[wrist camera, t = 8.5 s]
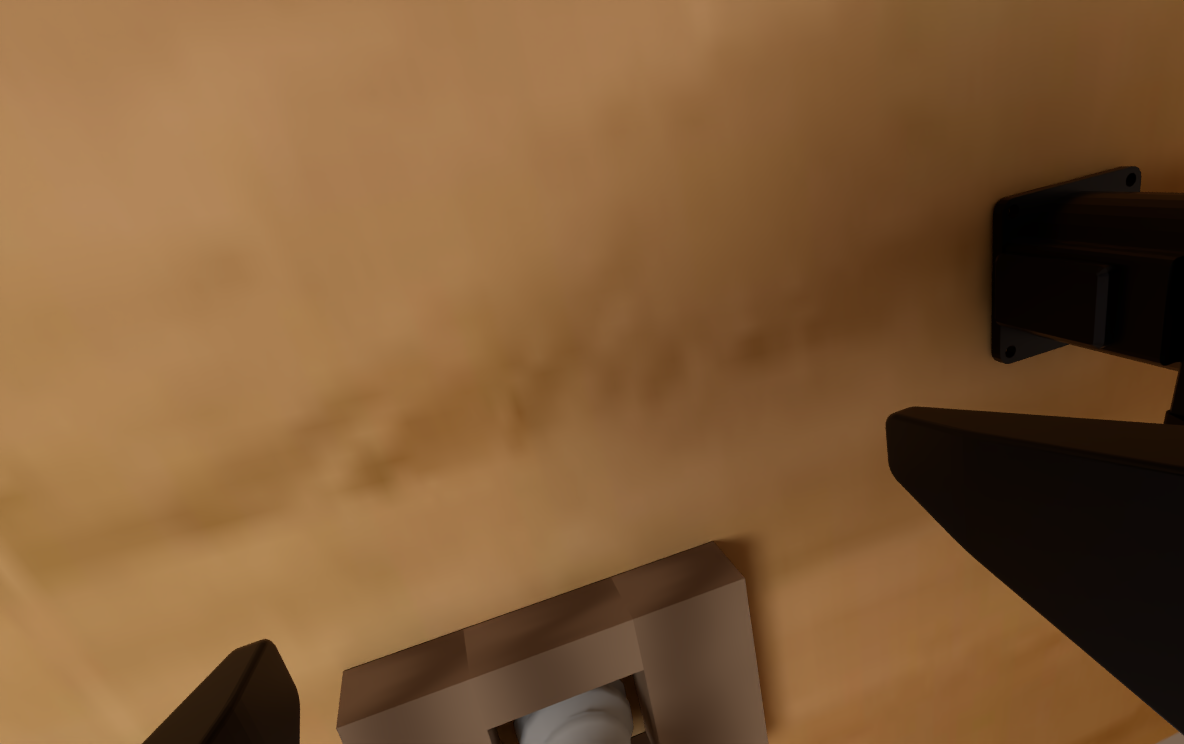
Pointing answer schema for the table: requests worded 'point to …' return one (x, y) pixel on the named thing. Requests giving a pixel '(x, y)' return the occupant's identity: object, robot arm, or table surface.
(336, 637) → the table surface
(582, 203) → the table surface
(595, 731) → the rook chess piece
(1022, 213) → the robot arm
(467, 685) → the socket board
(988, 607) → the table surface
